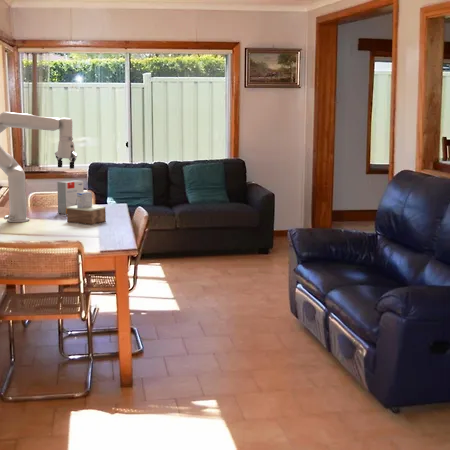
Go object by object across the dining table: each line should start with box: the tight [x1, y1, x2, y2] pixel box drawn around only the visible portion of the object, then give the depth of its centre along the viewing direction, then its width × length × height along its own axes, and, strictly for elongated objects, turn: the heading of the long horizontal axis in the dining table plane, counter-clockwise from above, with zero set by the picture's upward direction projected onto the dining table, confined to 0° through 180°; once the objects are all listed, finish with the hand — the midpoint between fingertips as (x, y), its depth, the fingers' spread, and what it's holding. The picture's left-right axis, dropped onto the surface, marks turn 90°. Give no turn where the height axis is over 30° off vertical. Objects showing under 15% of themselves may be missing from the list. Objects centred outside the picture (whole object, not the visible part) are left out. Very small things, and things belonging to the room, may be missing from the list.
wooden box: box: [66, 208, 107, 226], centre depth 422 cm, size 13×18×8 cm
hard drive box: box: [56, 179, 85, 215], centre depth 454 cm, size 16×8×20 cm, turn 143°
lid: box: [66, 204, 106, 211], centre depth 421 cm, size 13×18×1 cm
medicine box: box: [77, 191, 93, 208], centre depth 420 cm, size 8×4×9 cm, turn 144°
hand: (65, 167), depth 427 cm, fingers open, 9 cm apart
